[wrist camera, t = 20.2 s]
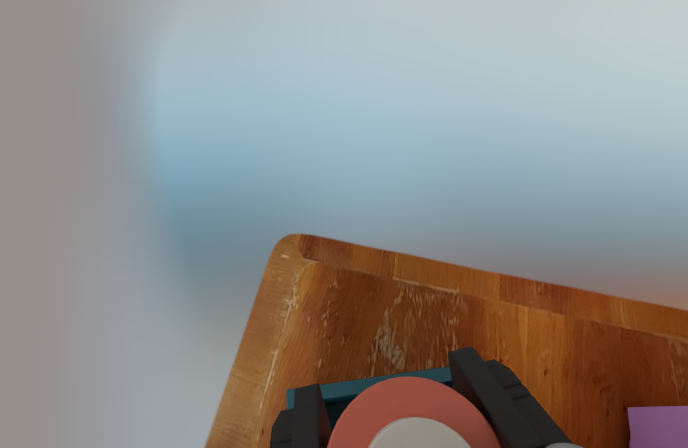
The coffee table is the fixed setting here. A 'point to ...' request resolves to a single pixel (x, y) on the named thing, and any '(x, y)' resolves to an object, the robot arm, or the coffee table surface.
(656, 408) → the teapot
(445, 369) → the wipes case
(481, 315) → the coffee table surface
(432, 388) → the lotion bottle
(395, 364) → the coffee table surface
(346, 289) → the coffee table surface
